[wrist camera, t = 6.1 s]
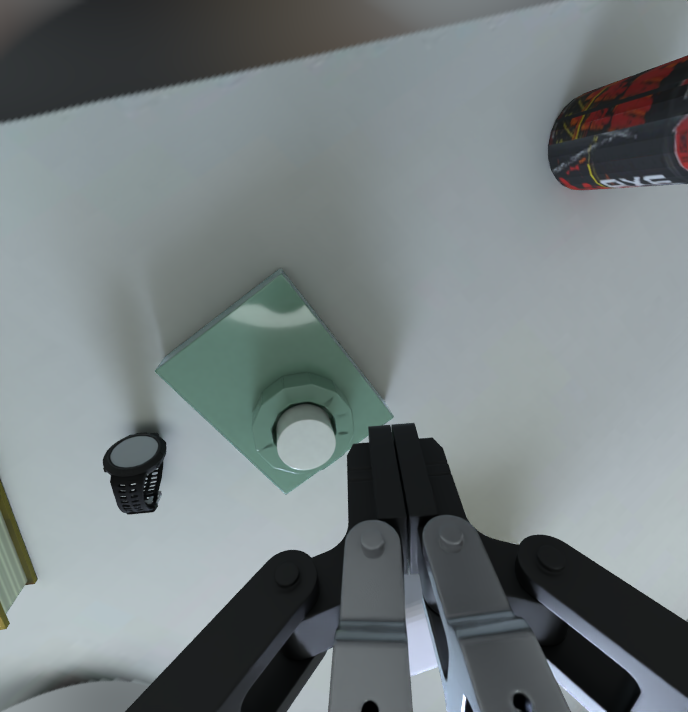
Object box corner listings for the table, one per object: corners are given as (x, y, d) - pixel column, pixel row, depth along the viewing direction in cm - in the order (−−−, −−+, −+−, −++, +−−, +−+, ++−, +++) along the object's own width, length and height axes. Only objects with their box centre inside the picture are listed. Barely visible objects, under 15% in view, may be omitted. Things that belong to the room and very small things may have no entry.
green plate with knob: (163, 357, 26) (144, 385, 22) (280, 267, 26) (282, 278, 22) (284, 474, 31) (286, 514, 27) (385, 401, 31) (403, 431, 27)
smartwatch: (185, 428, 28) (169, 471, 24) (166, 484, 30) (147, 535, 25) (125, 413, 27) (96, 454, 23) (107, 472, 29) (76, 522, 24)
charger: (315, 592, 37) (464, 542, 38) (338, 652, 40) (473, 604, 41) (321, 644, 32) (490, 586, 33) (346, 706, 36) (498, 651, 37)
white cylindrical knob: (264, 425, 25) (264, 443, 23) (309, 393, 25) (312, 408, 23) (299, 461, 26) (301, 480, 24) (341, 430, 26) (347, 447, 24)
